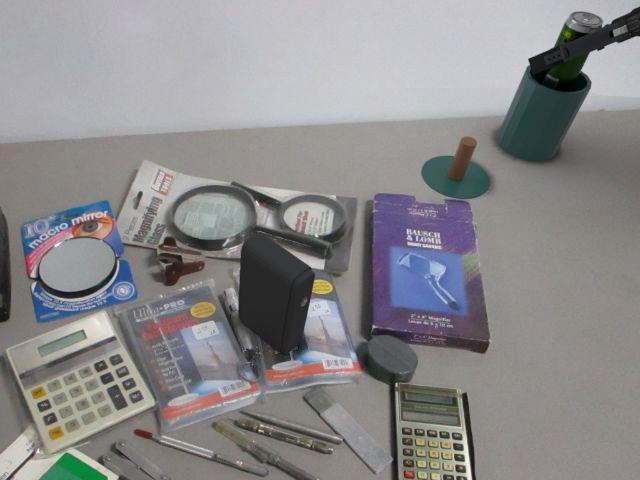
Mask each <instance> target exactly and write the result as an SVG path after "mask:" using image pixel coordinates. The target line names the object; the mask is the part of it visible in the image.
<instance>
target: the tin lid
mask: <svg viewBox="0 0 640 480" xmlns="http://www.w3.org/2000/svg"><path fill="white" fill-rule="evenodd" d="M477 145H478V141H477V139H475V138H474V137H471V136H463V137H461V138H460V141H459V144H458V147H457V149H456V152H455V154H454V155H438V156H437V155H436V156H434V157H432V158H431V157H430V158H429V159H428V160H427V161H425V162H424V163H423V165H422V167H421V177H422V179H423V181H424V183H425V184H426V185H427V186H428V187H429V188H430V189H431V190H433V191H435V192H437V193H438V194H441V195H443V196H445V197H448V198H451V199H459V200H470V199H475V198H476V199H477V198H478V197H481V196H483V195H485V194H486V192H487V191H488V190H489V187H490V177H489V175H488V173H487V172H486V171H485V170H484V169H483V168H482V167H481V166H480V165H479V164H477V163H475V162H474V161H472V158H473V155H474V154H475V153H474V152H475V150H476V148H477Z"/></svg>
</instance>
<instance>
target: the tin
mask: <svg viewBox="0 0 640 480" xmlns="http://www.w3.org/2000/svg"><path fill="white" fill-rule="evenodd" d="M542 72H543V71H541V72H539V73H536V74H534V75H533V74H532V70H531V67H530V64H528V65H527V66H526V67H525V70H524V72H523V75H522V77H521V79H520V82H519V84H518V87H517V88H516V91H515V93H514V96H513V98H512V100H511V103H510V105H509V107H508V109H507V112H506V114H505V116H504V119H503V121H502V123H501V126H500V128H499V130H498V133H497V136H496V141H497V144H498V146H499V147H500V148H501V149H502V150H503V151H504V152H505V153H506V154H508V155H510V156H512V157H514V158H517V159H520V160H523V161H527V162H539V163H540V162H544V161H549V160H551V159H552V158H553V157H554V156H556V154H557V152H558V150H559V148H560V147H561V145H562V143H563V141H564V139H565V137H566V135H567V133H568V132H569V130H570V128H571V126H572V124H573V122H574V121H575V119H576V116H578V113H579V111H580V109H581V107H582V106H583V103H584V101H585V100H586V98H587V97H588V94H589V93H590V91H591V89H592V80H591V78H590V77H589V76H588V74H586V73H585V72H584V71H582V70H581V72H580V74H579V76H578V78H577V80H576V82H575V84H574V86H573V88H572V90H571V92H561V91H558V90H554V89H550V88H547V87H545V86H543V85H541V84H539V83H538V81H539V79H540V77H541V74H542Z"/></svg>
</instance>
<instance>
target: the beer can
mask: <svg viewBox="0 0 640 480" xmlns="http://www.w3.org/2000/svg"><path fill="white" fill-rule="evenodd" d="M603 24H604V19H603V18H602V17H601V16H599V15H597V14H595V13H592V12H589V11H583V10H581V11H580V10H579V11H578V10H577V11H573V12H570V14H569V16H568V17H567V18H566V19H565V21H564V23H563V25H562V27H561V30H560V32H559V34H558V36H557V39H556V41H555V43H554V45H553V47H557V46H559V45H562V41H561V40H564V39H566V38H567V41H568V42H571V41H574V40H576V39H578V38H581V37H583V36H585V35H588V34H590V33H592V32H595V31H597V30H599V29H602V27H603ZM590 54H591V52H589V53H587V54H584V55H582V56H579V57H577V58H574V59H572V60H571V61H569V62H564V63H562V64H559V65H556V66H554V67H551V68H549V69H546V70H544V71H543V72H542V74H541V77H540V79H539V81H538V83H539V84H541V85H543V86H545V87H547V88H550V89H554V90H558V91H561V92H571V90H572V88H573V86H574V84H575V82H576V80H577V78H578V76H579V74H580V72H581V71H582V70H583V68H584V66H585V64H586V62H587V60H588V58H589V56H590Z"/></svg>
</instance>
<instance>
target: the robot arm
mask: <svg viewBox="0 0 640 480" xmlns="http://www.w3.org/2000/svg"><path fill="white" fill-rule="evenodd" d="M636 37H640V6H638V7H637V6H636V8H633V9H632V10H631V11H629V12H627V13H626V14H623V15H621V16H619V17H617V18H614V19H613V20H612V21H611V23H607V24H606V23H605V24H604V26H602V29H599V30H597V31H595V32H592V33H590V34H588V35H585V36H583V37H581V38H578V39H576V40H574V41H571V42H568V41H567V38H566V39H564V40H561V41H562V45H559V46H557V47H554V46H553V47H551V48H549V49H548V50H545V51H542V52H541V53H539V54H535V55H533V56H531V57H529V58H527V60H528V65H530V67H531V70H532V74H533V75H534V74H536V73H539V72H541V71H544V70H546V69H549V68H551V67H554V66H556V65H559V64H562V63H564V62H569V61H571V60H572V59H574V58H577V57H579V56H582V55H584V54H587V53H589V52H590V53H592V52H594V51H597V52H599V51H602V50H604V49H605V48H606V47H607V46H609V45H612V44H614V43H617V44H621V43H624V42H627V41H628V40H631V39H633V38H636Z"/></svg>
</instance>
